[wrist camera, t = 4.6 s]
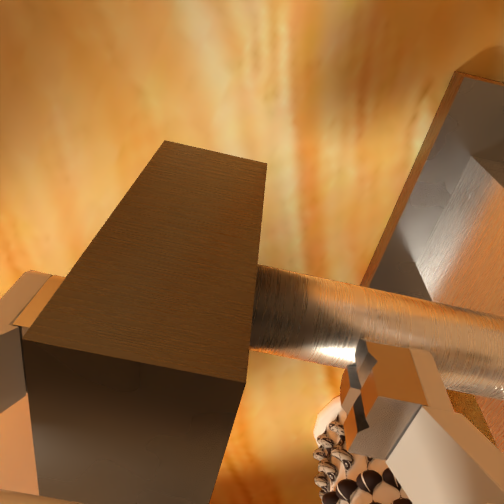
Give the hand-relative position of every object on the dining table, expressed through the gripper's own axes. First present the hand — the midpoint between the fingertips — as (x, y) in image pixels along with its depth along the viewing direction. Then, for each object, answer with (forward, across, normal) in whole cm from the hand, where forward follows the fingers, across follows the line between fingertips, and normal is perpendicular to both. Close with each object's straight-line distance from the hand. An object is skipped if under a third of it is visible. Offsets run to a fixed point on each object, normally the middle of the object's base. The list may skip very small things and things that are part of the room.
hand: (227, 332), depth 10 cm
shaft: (+5, -7, 0) cm, 8 cm away
